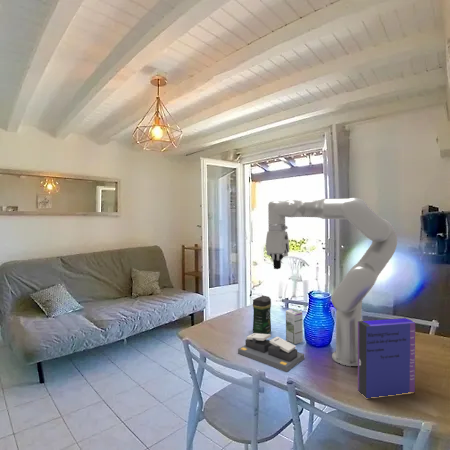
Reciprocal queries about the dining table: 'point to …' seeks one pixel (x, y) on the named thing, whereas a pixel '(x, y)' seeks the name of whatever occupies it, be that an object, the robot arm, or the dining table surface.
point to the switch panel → (270, 359)
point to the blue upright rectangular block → (386, 357)
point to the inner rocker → (282, 344)
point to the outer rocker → (259, 336)
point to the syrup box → (294, 326)
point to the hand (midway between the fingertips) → (277, 268)
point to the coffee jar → (262, 315)
